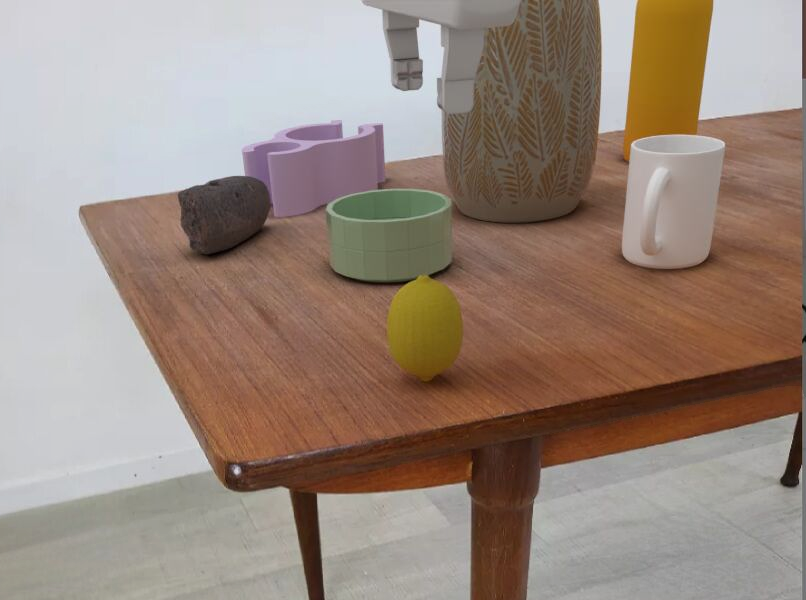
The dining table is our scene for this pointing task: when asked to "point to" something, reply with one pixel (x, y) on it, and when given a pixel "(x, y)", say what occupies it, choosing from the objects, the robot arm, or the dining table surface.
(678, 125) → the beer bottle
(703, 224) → the mug
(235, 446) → the dining table surface
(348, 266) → the green planter pot
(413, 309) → the lemon
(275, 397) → the dining table surface
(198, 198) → the perforated stone tool
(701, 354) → the dining table surface
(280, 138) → the clip
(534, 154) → the vase
